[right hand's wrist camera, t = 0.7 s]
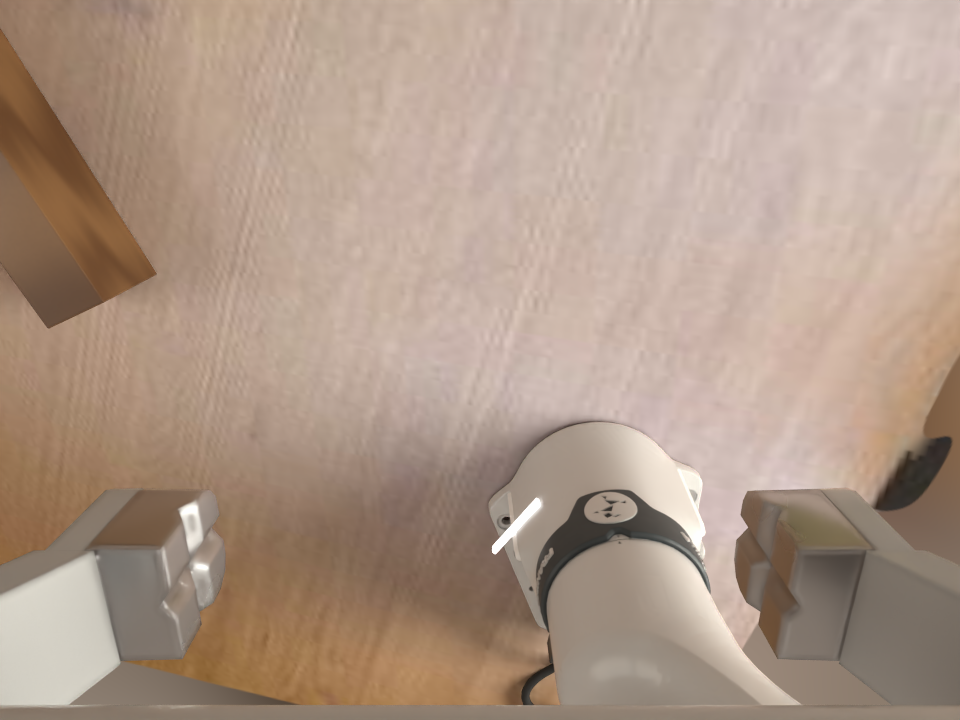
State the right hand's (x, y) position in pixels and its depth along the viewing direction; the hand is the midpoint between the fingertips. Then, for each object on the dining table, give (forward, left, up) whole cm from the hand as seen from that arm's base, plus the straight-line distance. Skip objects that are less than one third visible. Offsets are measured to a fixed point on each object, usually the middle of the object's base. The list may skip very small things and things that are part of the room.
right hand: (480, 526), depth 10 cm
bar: (+8, +31, -42) cm, 53 cm away
